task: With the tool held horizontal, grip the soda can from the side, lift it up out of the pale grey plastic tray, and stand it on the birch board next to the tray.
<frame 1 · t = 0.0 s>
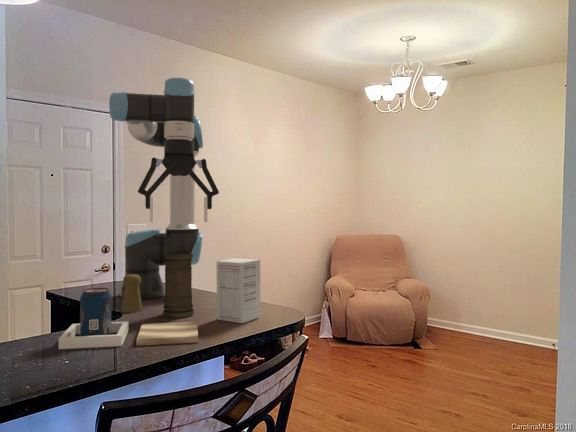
hand: (179, 222, 123), 28 cm above the worktop, tool pointing down, fingers open, 13 cm apart
container: (178, 315, 141), on the worktop
olive brown rounded figure: (132, 311, 145), on the worktop
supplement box: (238, 319, 136), on the worktop
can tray: (95, 339, 114), on the worktop
birch board: (168, 335, 118), on the worktop
soda can: (95, 340, 114), resting in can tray
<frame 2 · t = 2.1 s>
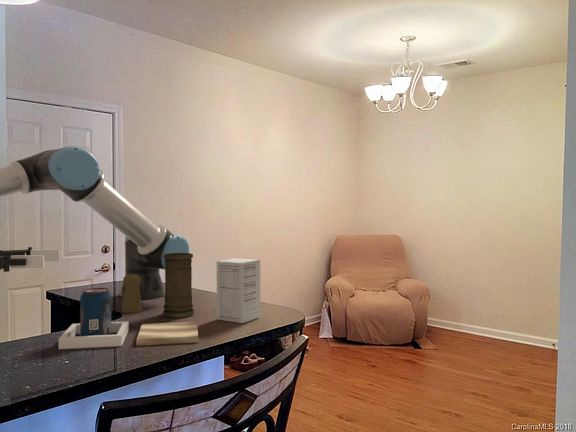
hand: (52, 258, 112), 20 cm above the worktop, tool horizontal, fingers open, 13 cm apart
nothing on the worktop moved.
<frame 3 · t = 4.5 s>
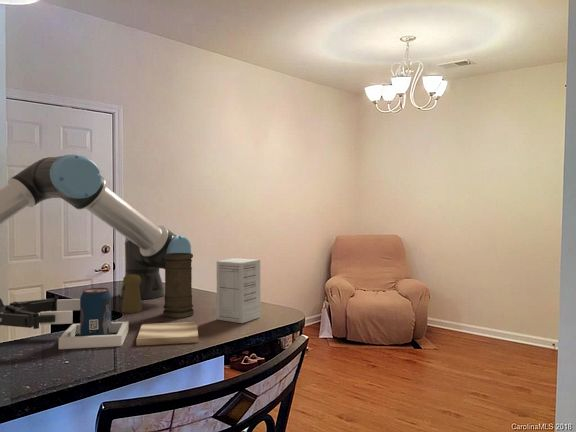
hand: (79, 310, 113), 7 cm above the worktop, tool horizontal, fingers open, 13 cm apart
nothing on the worktop moved.
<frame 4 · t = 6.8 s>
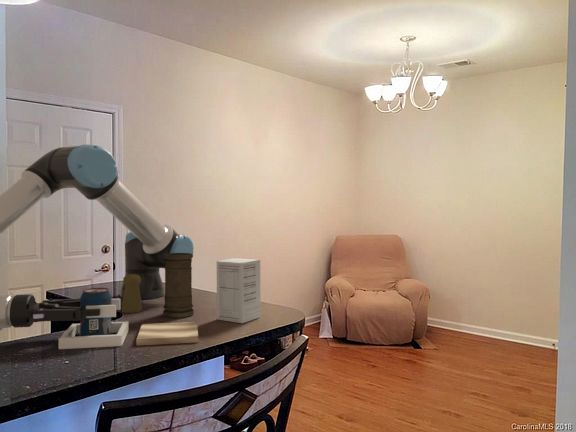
hand: (117, 307, 115), 8 cm above the worktop, tool horizontal, fingers closed on soda can, 7 cm apart
soda can: (95, 340, 114), resting in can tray, touching gripper
everything else where it was.
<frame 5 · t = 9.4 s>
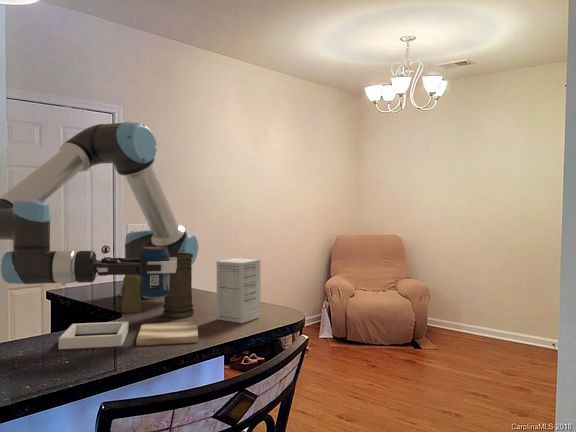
hand: (176, 265, 117), 18 cm above the worktop, tool horizontal, fingers closed on soda can, 7 cm apart
soda can: (155, 296, 116), point 10 cm above the worktop, touching gripper
everything else where it was.
when the fingers open (10 cm above the worktop, at t = 11.9 s): soda can stays where it is, resting on birch board.
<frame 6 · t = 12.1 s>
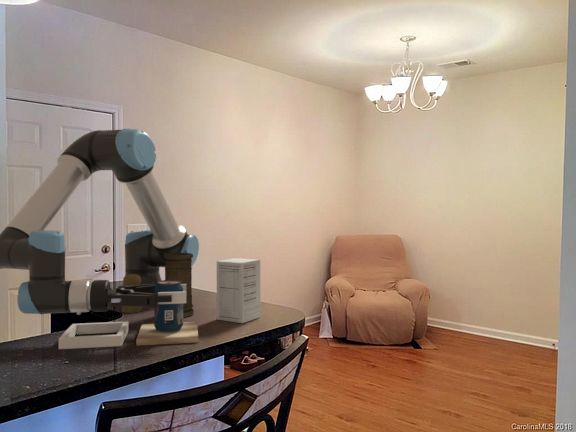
hand: (186, 293, 118), 10 cm above the worktop, tool horizontal, fingers open, 10 cm apart
soda can: (168, 330, 117), point 1 cm above the worktop, touching birch board
everything else where it was.
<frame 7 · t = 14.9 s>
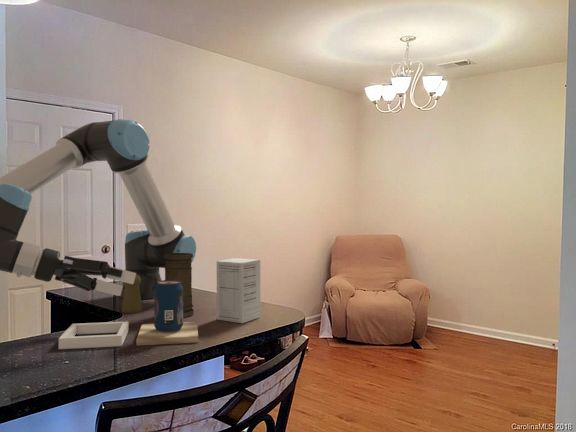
hand: (127, 285, 121), 12 cm above the worktop, tool tilted 70°, fingers open, 13 cm apart
nothing on the worktop moved.
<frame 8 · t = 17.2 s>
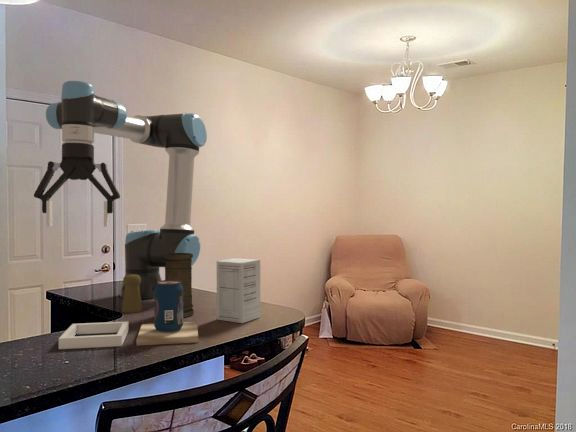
hand: (78, 226, 122), 27 cm above the worktop, tool pointing down, fingers open, 13 cm apart
nothing on the worktop moved.
at the end: soda can inside the target area on the birch board (0.2 cm from its centre), point 1.3 cm above the birch board's base; soda can tilted 0°; the gripper is holding nothing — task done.
